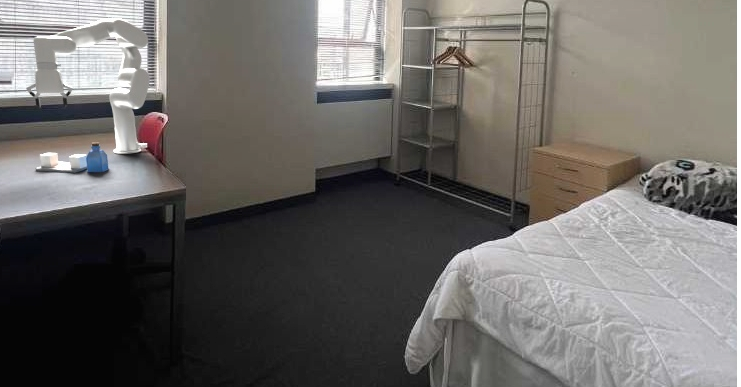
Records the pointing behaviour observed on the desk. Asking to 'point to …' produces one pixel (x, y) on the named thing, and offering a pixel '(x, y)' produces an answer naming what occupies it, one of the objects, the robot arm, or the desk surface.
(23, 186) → the desk surface
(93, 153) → the perfume bottle
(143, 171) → the desk surface
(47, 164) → the module rail
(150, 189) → the desk surface
